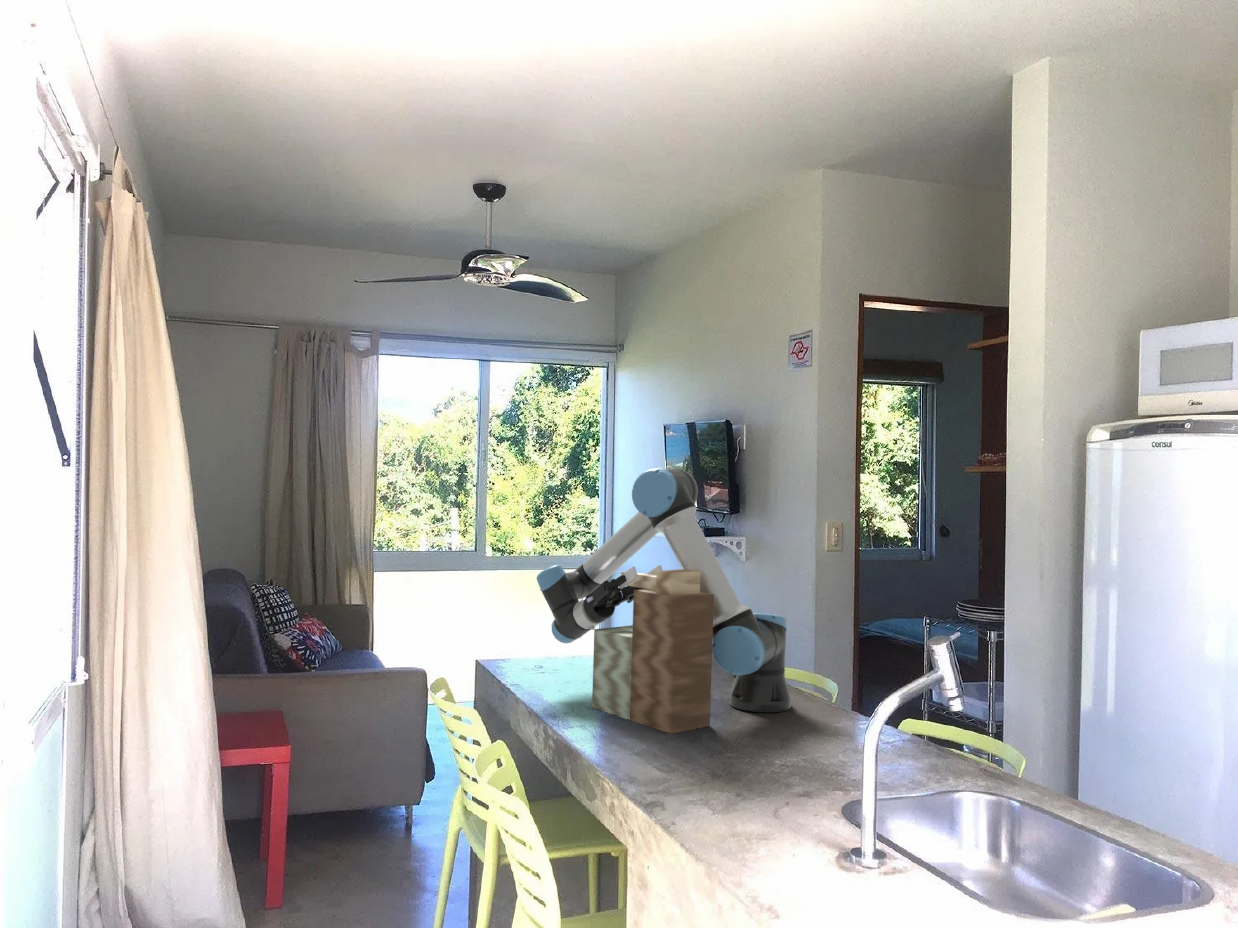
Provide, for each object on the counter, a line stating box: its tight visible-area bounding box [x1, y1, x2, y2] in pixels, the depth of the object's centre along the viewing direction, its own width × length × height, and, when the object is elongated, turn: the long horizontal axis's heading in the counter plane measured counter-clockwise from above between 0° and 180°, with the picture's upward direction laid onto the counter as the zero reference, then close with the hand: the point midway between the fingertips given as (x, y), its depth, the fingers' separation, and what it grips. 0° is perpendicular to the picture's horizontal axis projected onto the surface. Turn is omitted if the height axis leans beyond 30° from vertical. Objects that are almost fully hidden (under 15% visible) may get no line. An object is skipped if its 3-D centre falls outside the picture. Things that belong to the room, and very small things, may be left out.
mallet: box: [620, 568, 700, 595], centre depth 234 cm, size 21×9×5 cm, turn 40°
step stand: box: [591, 589, 714, 735], centre depth 235 cm, size 28×12×30 cm, turn 40°
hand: (648, 571), depth 236 cm, fingers open, 8 cm apart
